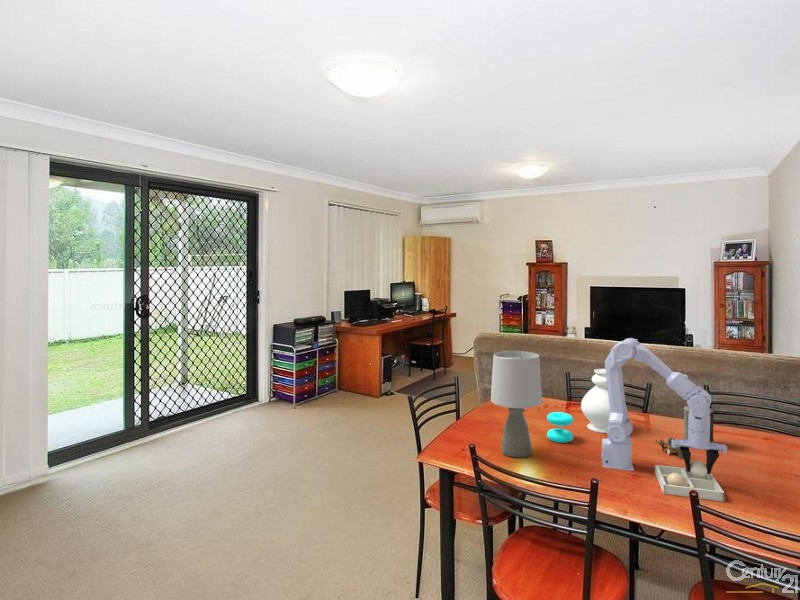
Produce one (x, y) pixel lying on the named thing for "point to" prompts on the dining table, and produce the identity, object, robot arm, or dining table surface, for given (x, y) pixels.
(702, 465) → the cream egg
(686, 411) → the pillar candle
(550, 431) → the donuts
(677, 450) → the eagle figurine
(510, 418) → the lamp
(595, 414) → the decorative vase
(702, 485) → the egg tray
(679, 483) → the brown egg
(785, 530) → the dining table surface
